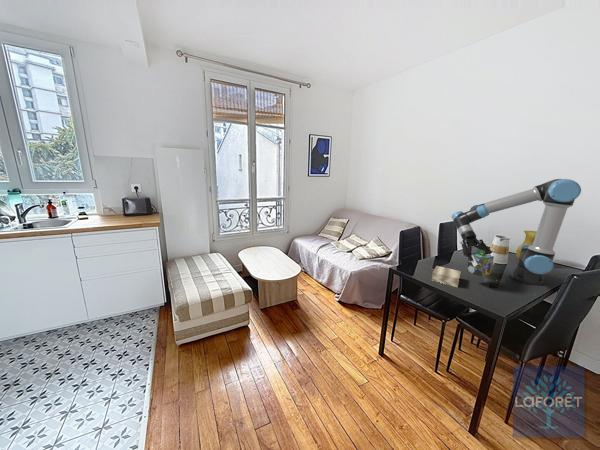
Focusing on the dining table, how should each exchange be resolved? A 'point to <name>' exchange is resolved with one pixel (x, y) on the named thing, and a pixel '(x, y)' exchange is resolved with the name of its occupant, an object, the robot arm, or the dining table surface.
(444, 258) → the dining table surface
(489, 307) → the dining table surface
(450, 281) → the birch block
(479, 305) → the dining table surface
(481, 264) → the chalk box
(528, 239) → the pitcher
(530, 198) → the robot arm
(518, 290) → the dining table surface
